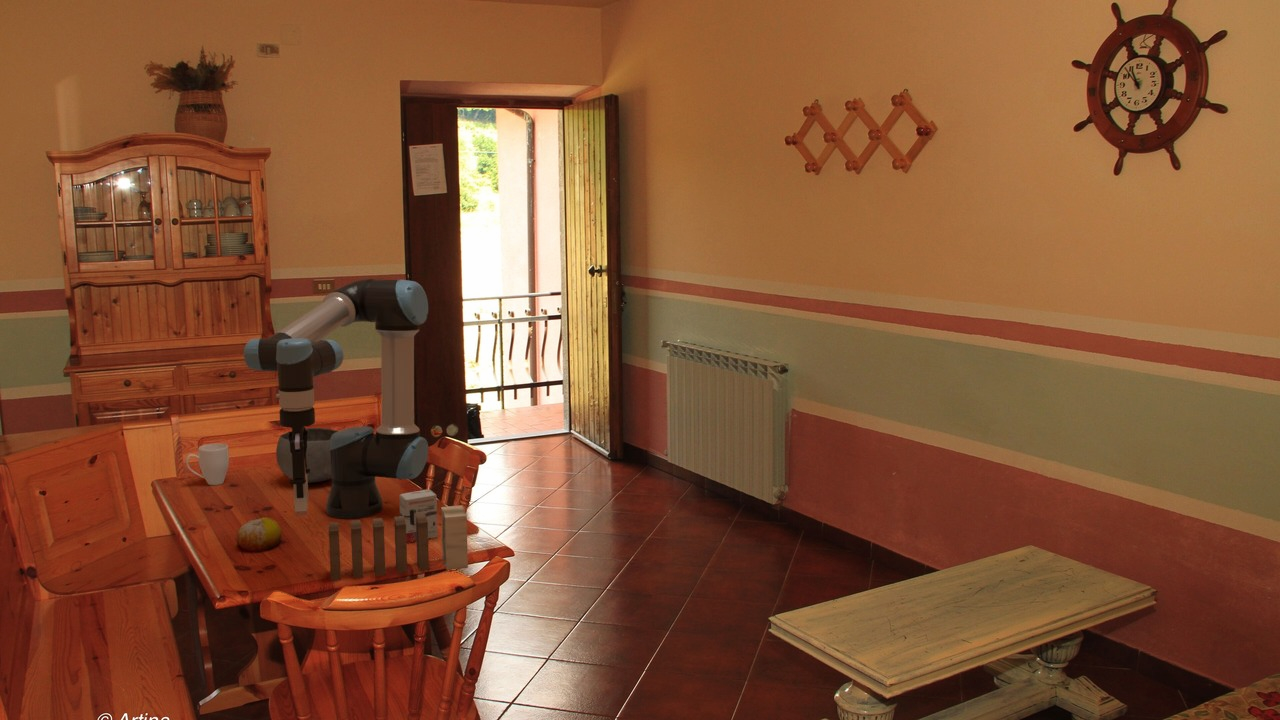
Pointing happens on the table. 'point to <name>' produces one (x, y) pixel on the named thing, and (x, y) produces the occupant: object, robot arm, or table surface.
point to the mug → (212, 462)
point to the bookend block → (454, 537)
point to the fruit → (259, 535)
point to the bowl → (308, 454)
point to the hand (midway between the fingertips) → (301, 506)
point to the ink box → (419, 512)
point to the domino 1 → (302, 513)
